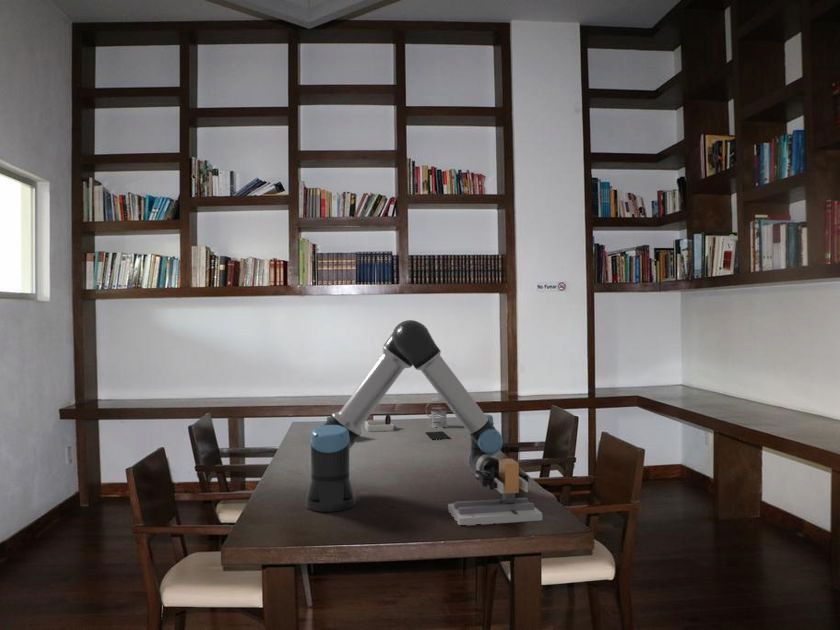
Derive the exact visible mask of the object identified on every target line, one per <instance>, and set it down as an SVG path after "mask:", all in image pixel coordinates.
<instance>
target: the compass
mask: <svg viewBox="0 0 840 630" xmlns="http://www.w3.org/2000/svg"><path fill="white" fill-rule="evenodd" d="M391 418H392V417H391V415H390V414H389V413H388V414H386V415H385V418H384V421H385V425H388V424H390V423H391V422H392V419H391Z"/></svg>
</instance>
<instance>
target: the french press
mask: <svg viewBox="0 0 840 630" xmlns="http://www.w3.org/2000/svg"><path fill="white" fill-rule="evenodd" d="M437 393H438V392H437ZM430 401H431V402H428V403H427V404H426V406H425V409H427V407H428V406H429V405H430V406H432V402H436V403H438V405H440V403H441V402H444V403H446V402H445V401H444V400H443V399H442V397H441V396H440V395H439V393H438V396H435V397H433V398H432V399H430ZM425 413H426V415H427V416H428V417H429V418H430V425H429V426H432V427H447V426H448V425H447V410H446V407H445V406H433V407H431V415H429V414H428V412H427V411H425ZM447 428H448V427H447Z"/></svg>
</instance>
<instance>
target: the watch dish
mask: <svg viewBox="0 0 840 630" xmlns="http://www.w3.org/2000/svg"><path fill="white" fill-rule="evenodd" d="M364 428H365V429H366V432H370V433H371V432H390V431H391V432H393V431H394V430H395V429H394V428H395V427H394V424H393V422H392V421H391V423H390V424H388V425H385V420H366V421H365V422H364Z"/></svg>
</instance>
